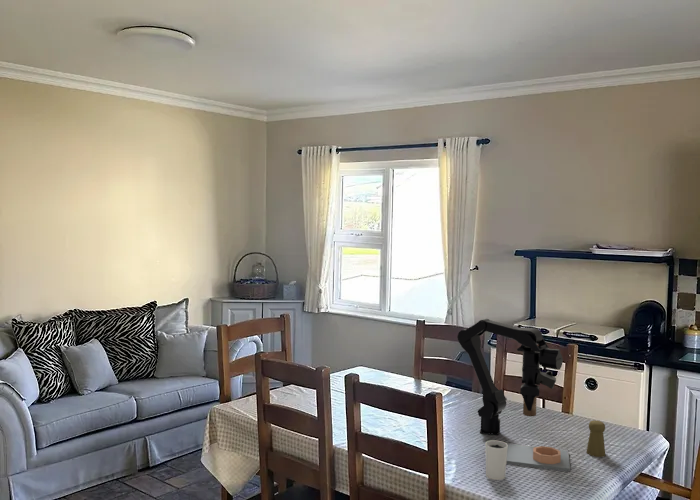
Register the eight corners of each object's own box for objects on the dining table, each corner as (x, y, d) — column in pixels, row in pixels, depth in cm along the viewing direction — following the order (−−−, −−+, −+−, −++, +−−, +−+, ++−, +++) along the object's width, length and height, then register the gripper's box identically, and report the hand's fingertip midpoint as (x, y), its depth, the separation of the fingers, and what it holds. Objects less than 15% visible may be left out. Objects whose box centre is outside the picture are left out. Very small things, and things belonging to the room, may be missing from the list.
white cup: (481, 471, 197) (482, 440, 196) (502, 471, 198) (503, 440, 197) (488, 481, 190) (489, 448, 190) (509, 480, 191) (510, 448, 190)
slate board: (504, 463, 204) (504, 460, 204) (507, 446, 219) (507, 443, 219) (569, 471, 198) (570, 468, 198) (568, 453, 213) (568, 450, 213)
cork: (607, 457, 210) (608, 425, 209) (587, 456, 211) (589, 423, 211) (603, 451, 216) (604, 419, 215) (585, 449, 217) (586, 417, 216)
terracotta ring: (532, 461, 203) (533, 454, 203) (533, 452, 211) (533, 445, 211) (560, 465, 201) (560, 457, 200) (559, 455, 209) (560, 448, 208)
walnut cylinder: (522, 415, 222) (523, 393, 221) (523, 411, 226) (523, 389, 225) (535, 416, 220) (536, 394, 220) (536, 413, 225) (536, 390, 224)
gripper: (555, 373, 211) (554, 419, 212) (554, 360, 229) (553, 403, 230) (520, 370, 214) (519, 415, 215) (522, 358, 232) (521, 400, 233)
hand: (529, 408), depth 223 cm, fingers closed on walnut cylinder, 4 cm apart
